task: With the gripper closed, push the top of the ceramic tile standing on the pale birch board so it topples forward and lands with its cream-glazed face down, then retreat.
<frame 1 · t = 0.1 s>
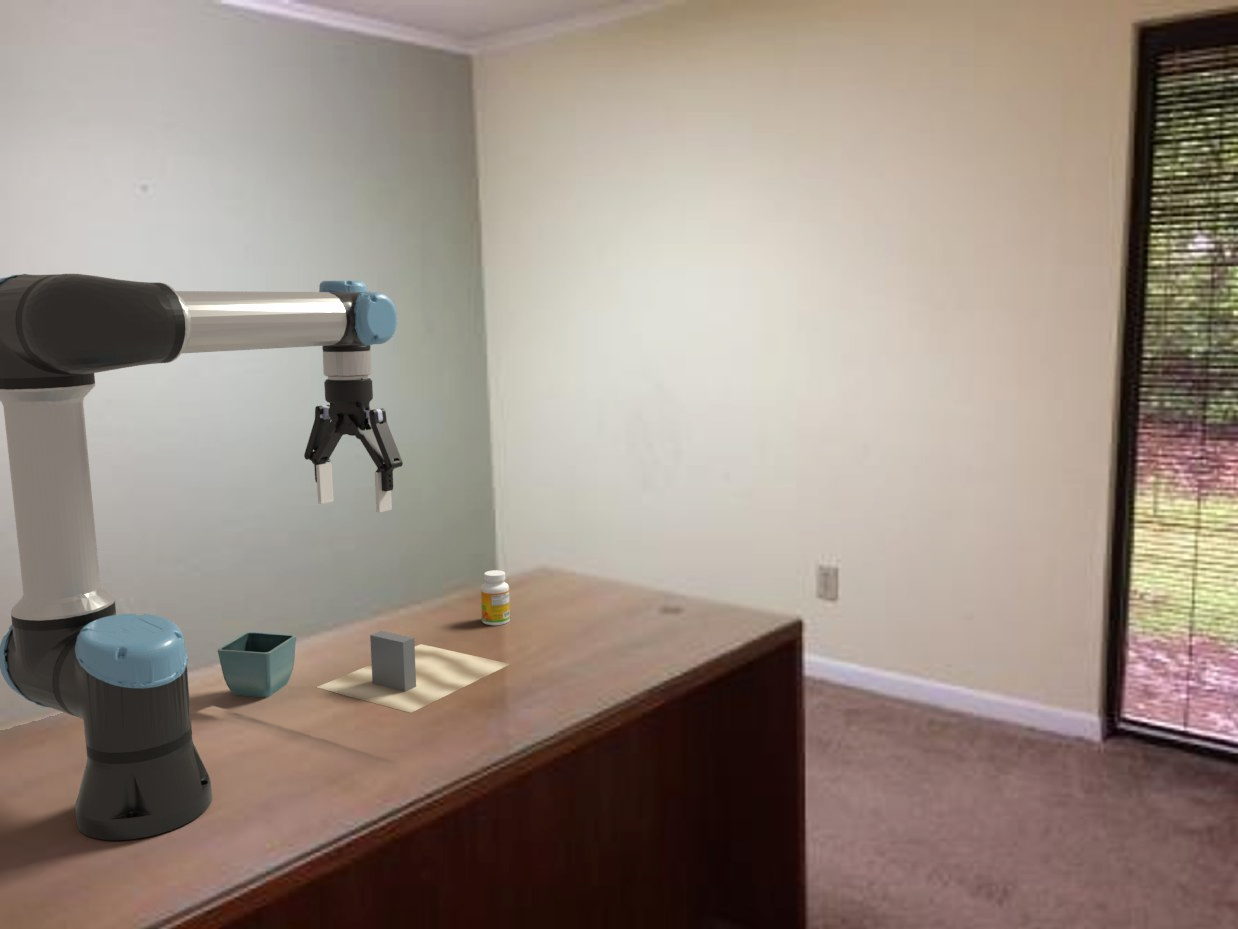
hand: (354, 506, 170), 28 cm above the table, fingers open, 13 cm apart
tile: (394, 685, 164), point 1 cm above the table, touching board
flower pot: (261, 697, 163), on the table
board: (416, 682, 168), on the table
supplement bottle: (495, 622, 200), on the table
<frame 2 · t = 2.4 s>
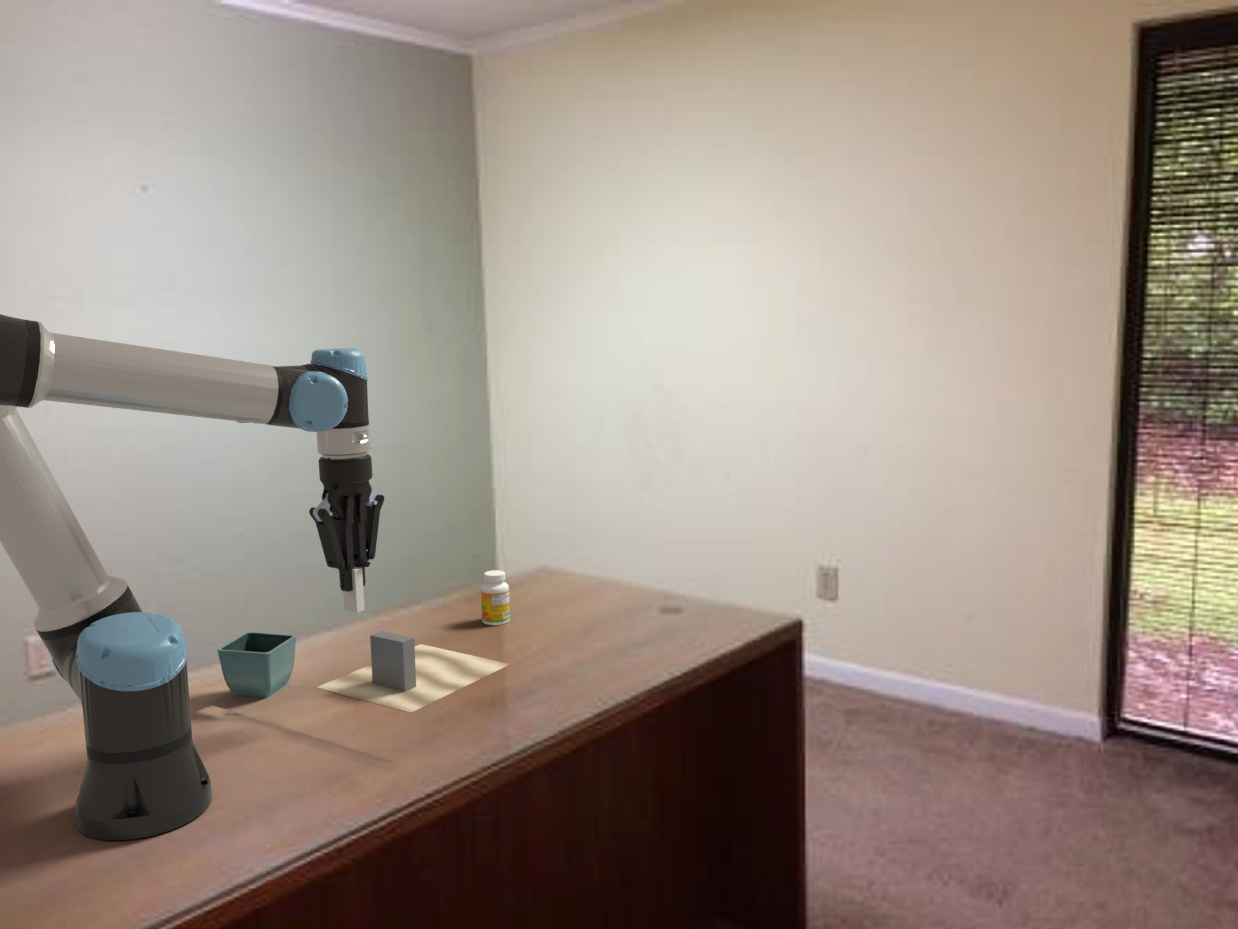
hand: (354, 609, 155), 16 cm above the table, fingers closed
nothing on the table moved.
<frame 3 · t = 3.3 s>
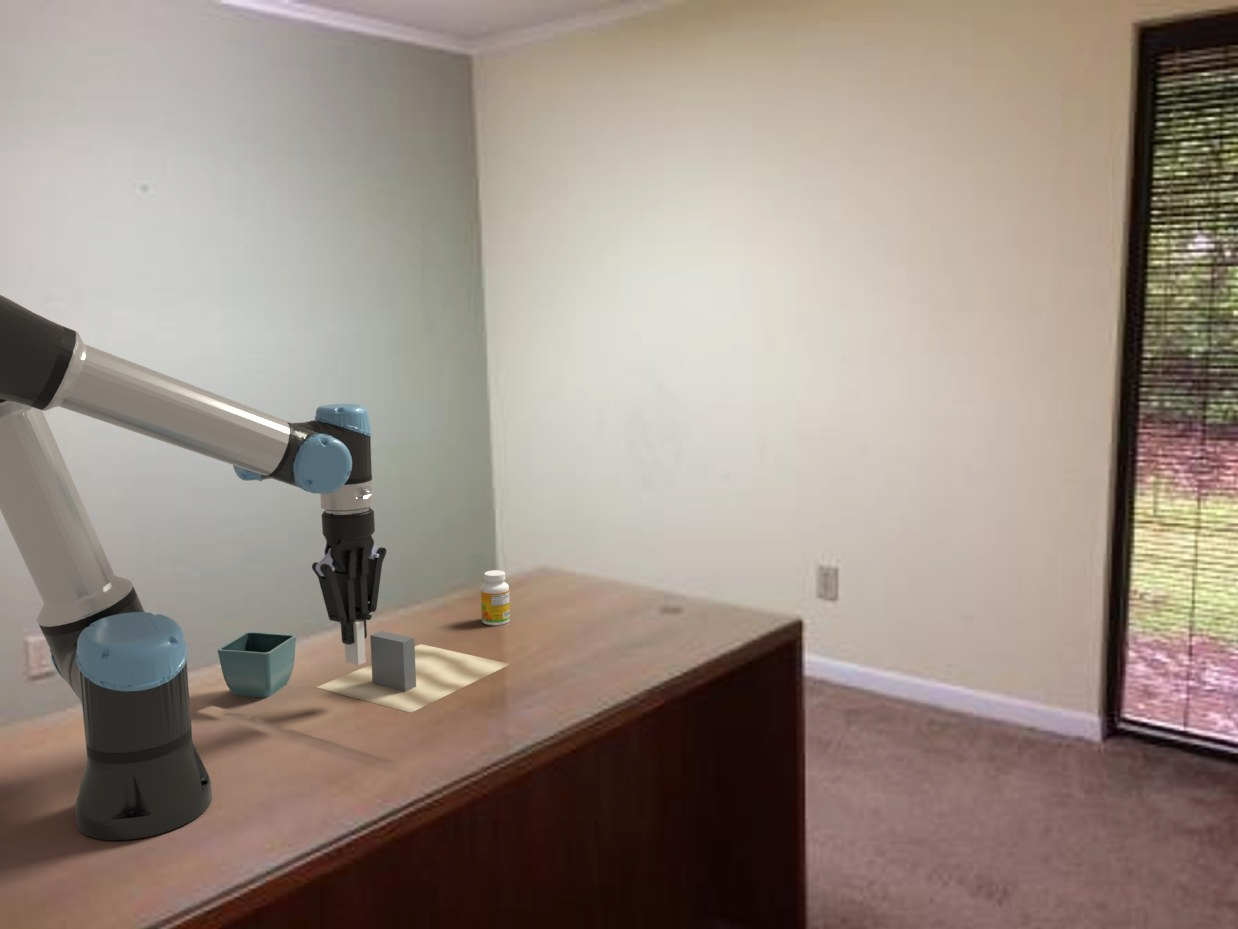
hand: (355, 662, 156), 7 cm above the table, fingers closed
nothing on the table moved.
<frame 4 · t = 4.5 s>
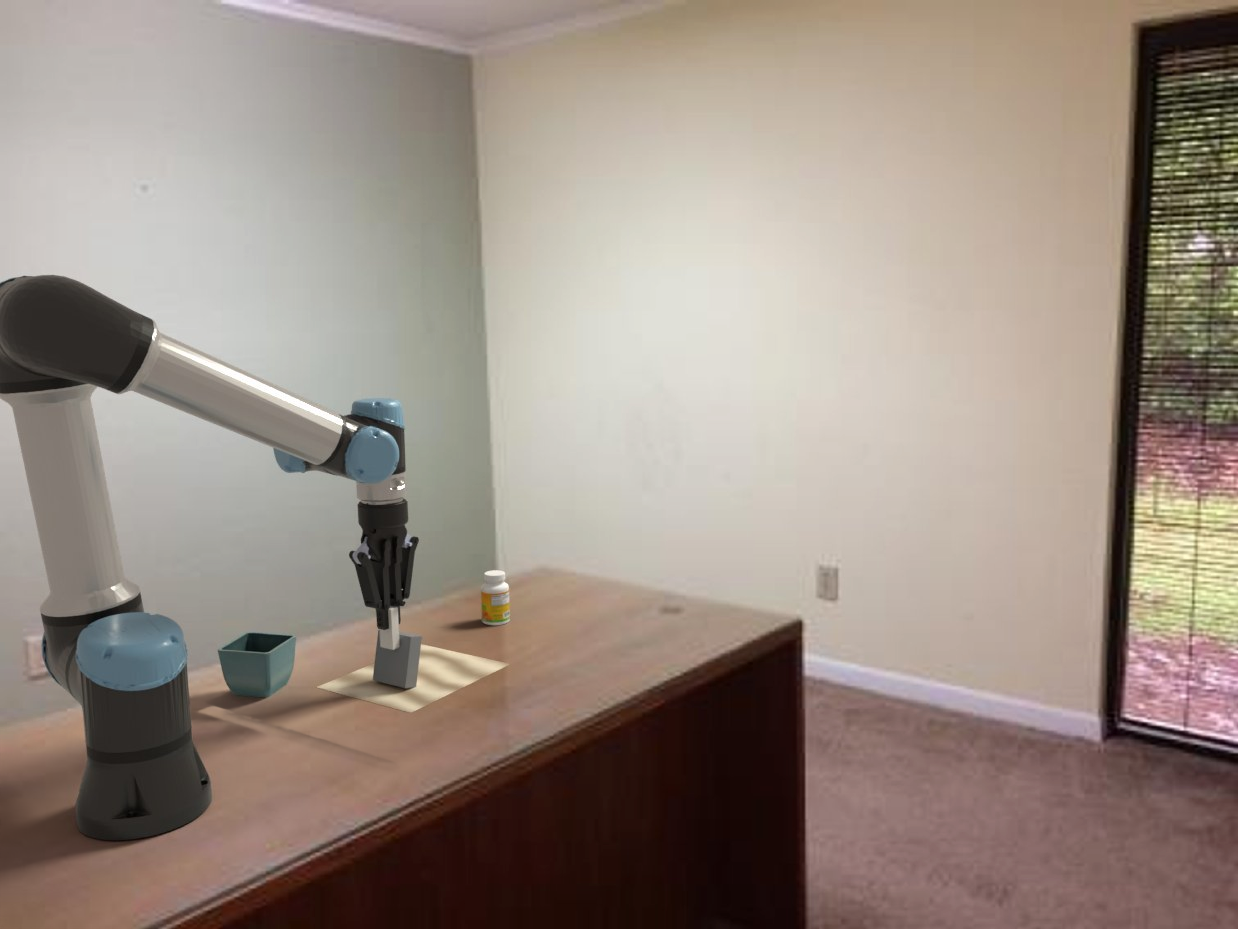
hand: (390, 646, 162), 8 cm above the table, fingers closed
tile: (394, 683, 164), point 1 cm above the table, tilted 13°, touching board
everything else where it was.
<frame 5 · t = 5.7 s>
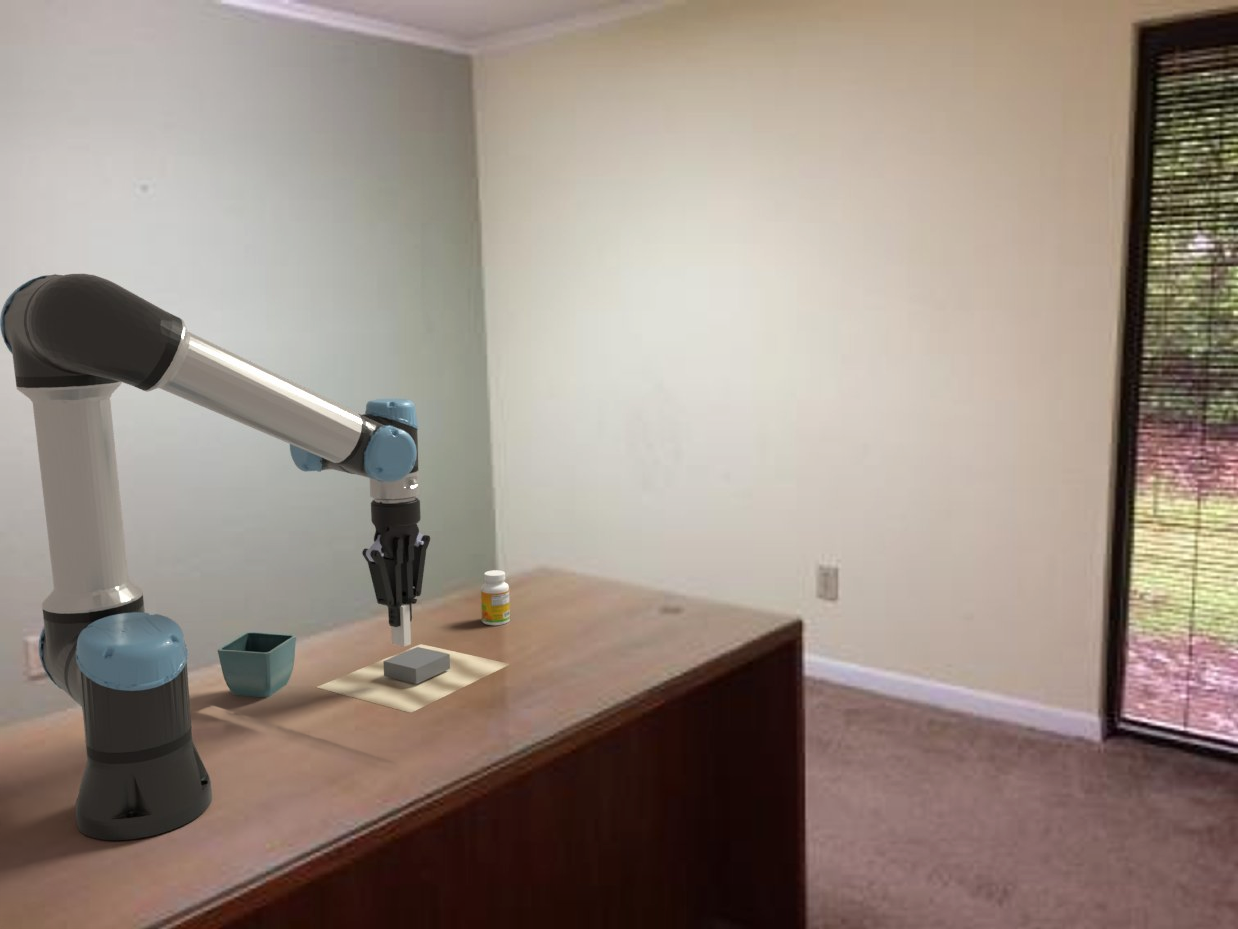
hand: (401, 643, 165), 7 cm above the table, fingers closed
tile: (399, 672, 165), point 3 cm above the table, tilted 90°, touching board
everything else where it was.
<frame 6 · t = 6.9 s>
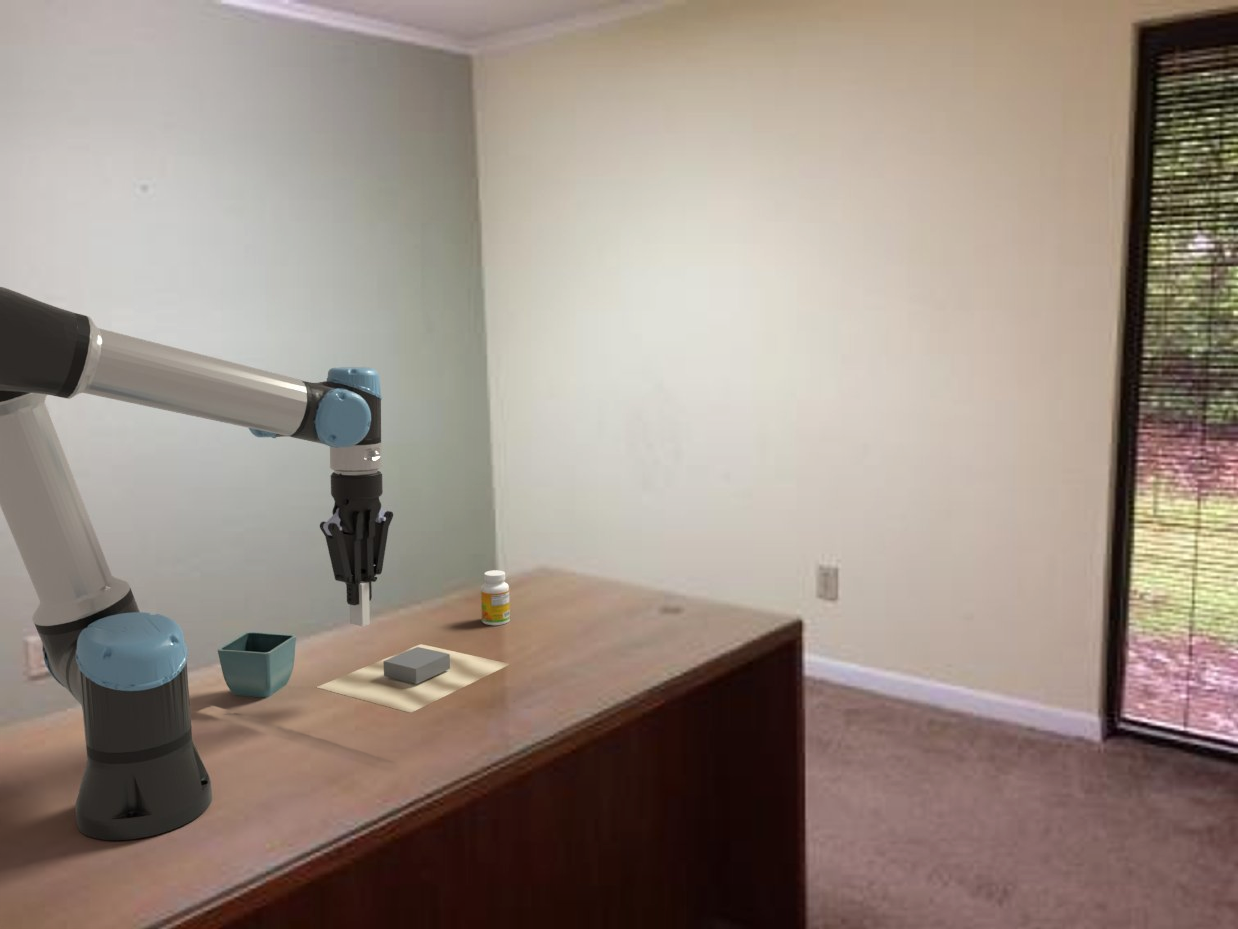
hand: (359, 623, 158), 13 cm above the table, fingers closed
nothing on the table moved.
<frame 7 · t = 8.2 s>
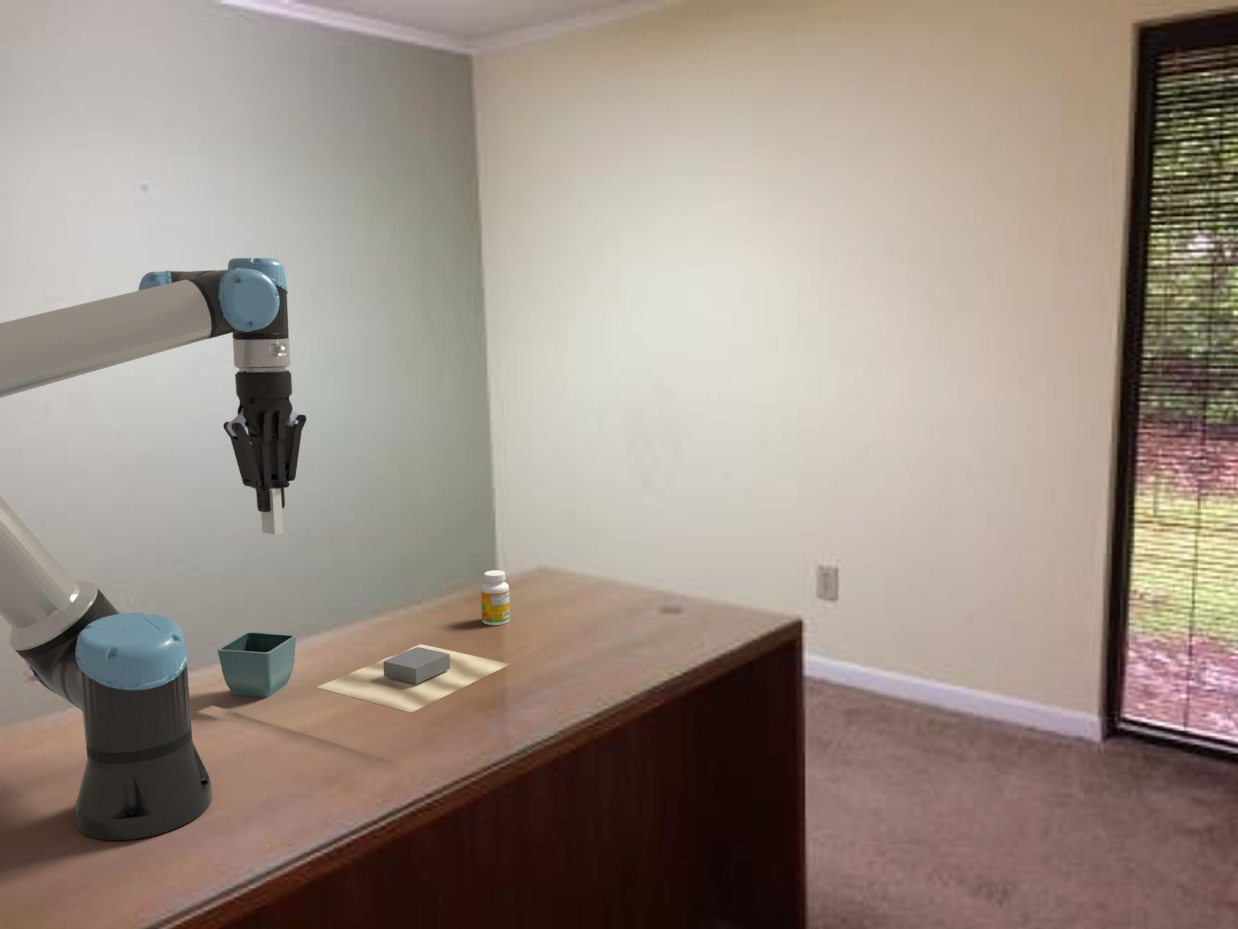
hand: (272, 532, 150), 28 cm above the table, fingers closed
nothing on the table moved.
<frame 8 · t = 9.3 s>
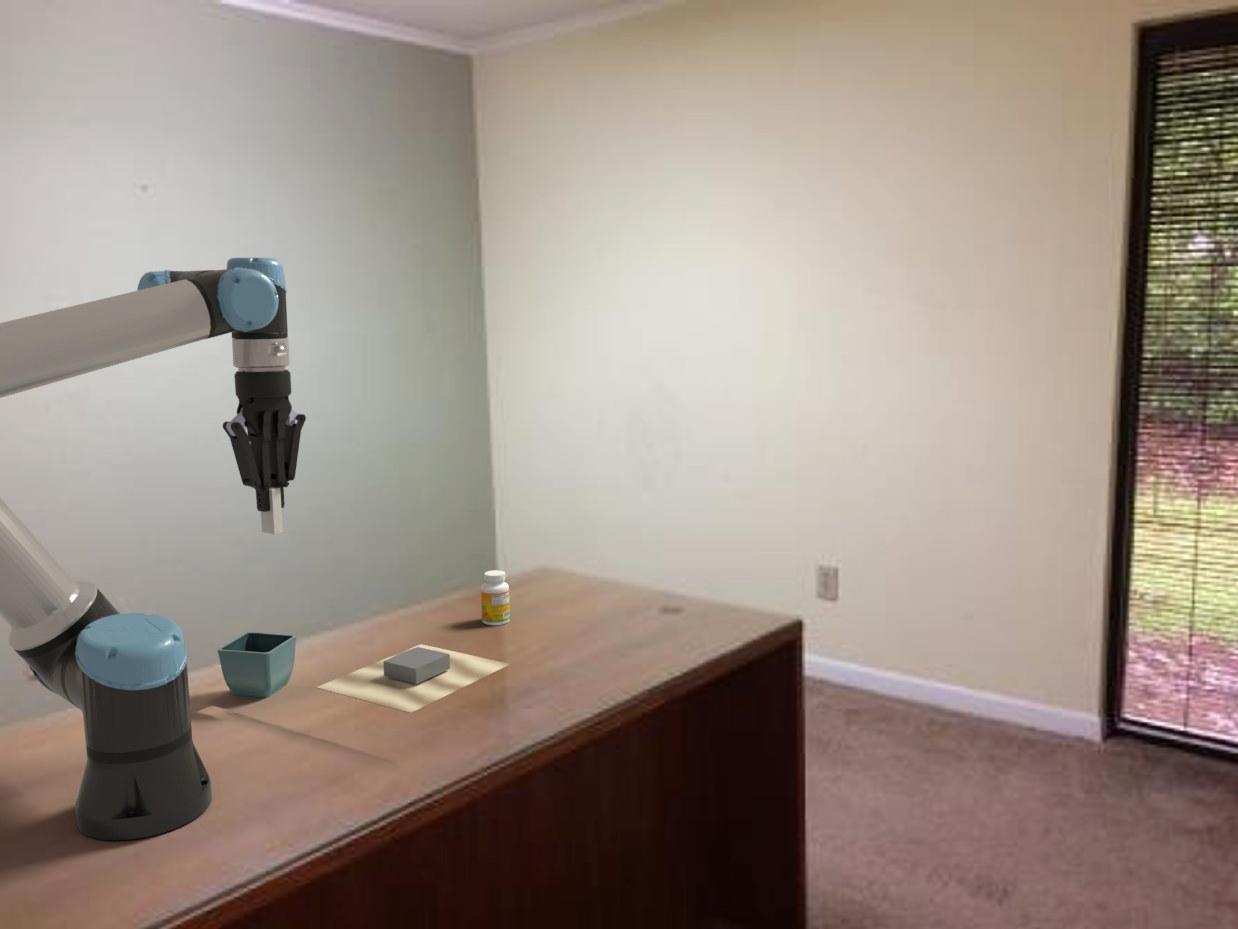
hand: (272, 532, 150), 28 cm above the table, fingers closed
nothing on the table moved.
at the end: tile tilted 90°; tile inside the target area (4.2 cm from its centre), point 2.8 cm above the table; tile touching board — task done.
